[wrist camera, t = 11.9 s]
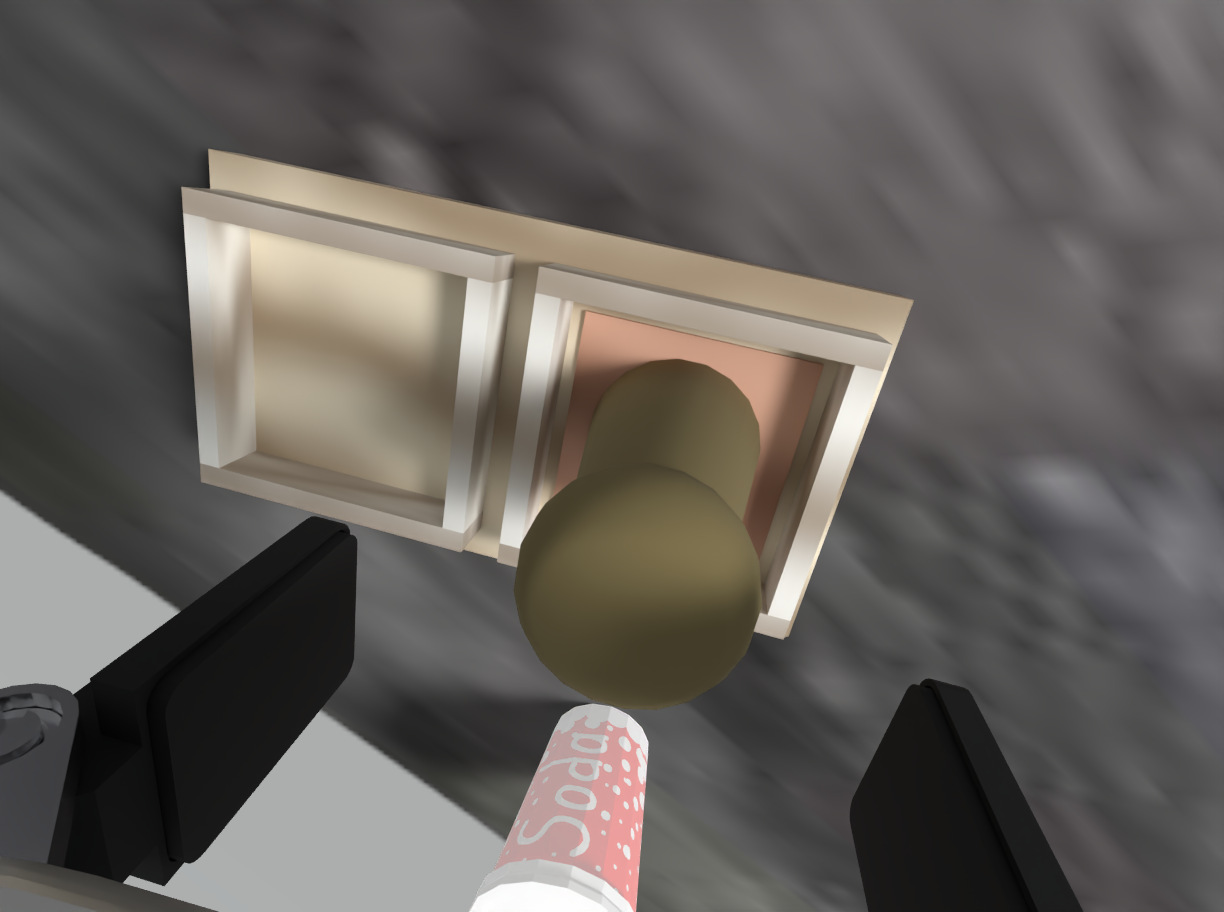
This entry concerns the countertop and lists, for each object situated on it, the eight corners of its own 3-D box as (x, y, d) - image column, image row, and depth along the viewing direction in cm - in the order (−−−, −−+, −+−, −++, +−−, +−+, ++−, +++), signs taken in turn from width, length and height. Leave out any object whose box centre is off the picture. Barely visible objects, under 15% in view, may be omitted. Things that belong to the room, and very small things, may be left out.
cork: (750, 529, 22) (769, 782, 12) (587, 511, 23) (477, 733, 13) (770, 364, 20) (814, 504, 10) (590, 352, 21) (461, 470, 11)
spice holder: (240, 153, 22) (158, 141, 19) (901, 295, 20) (933, 308, 17) (250, 471, 27) (186, 504, 24) (784, 614, 25) (793, 671, 22)
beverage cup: (679, 713, 28) (638, 1134, 15) (648, 806, 30) (588, 1240, 17) (551, 674, 28) (403, 1048, 15) (529, 768, 31) (385, 1162, 18)
